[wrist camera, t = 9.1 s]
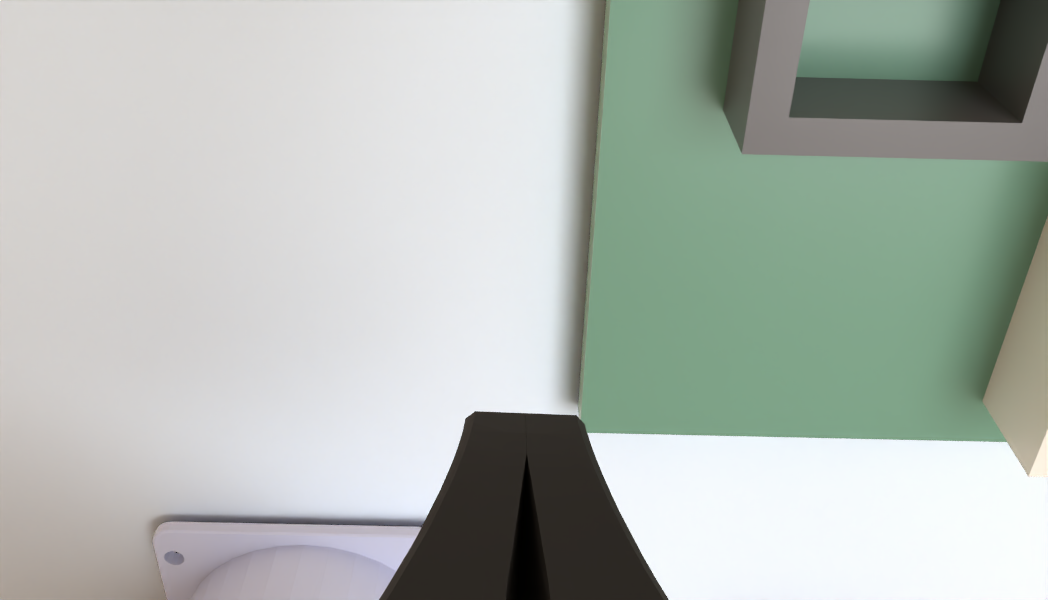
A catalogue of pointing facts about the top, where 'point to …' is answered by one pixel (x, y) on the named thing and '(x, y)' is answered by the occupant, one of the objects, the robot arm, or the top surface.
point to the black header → (888, 95)
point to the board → (794, 241)
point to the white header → (1025, 371)
